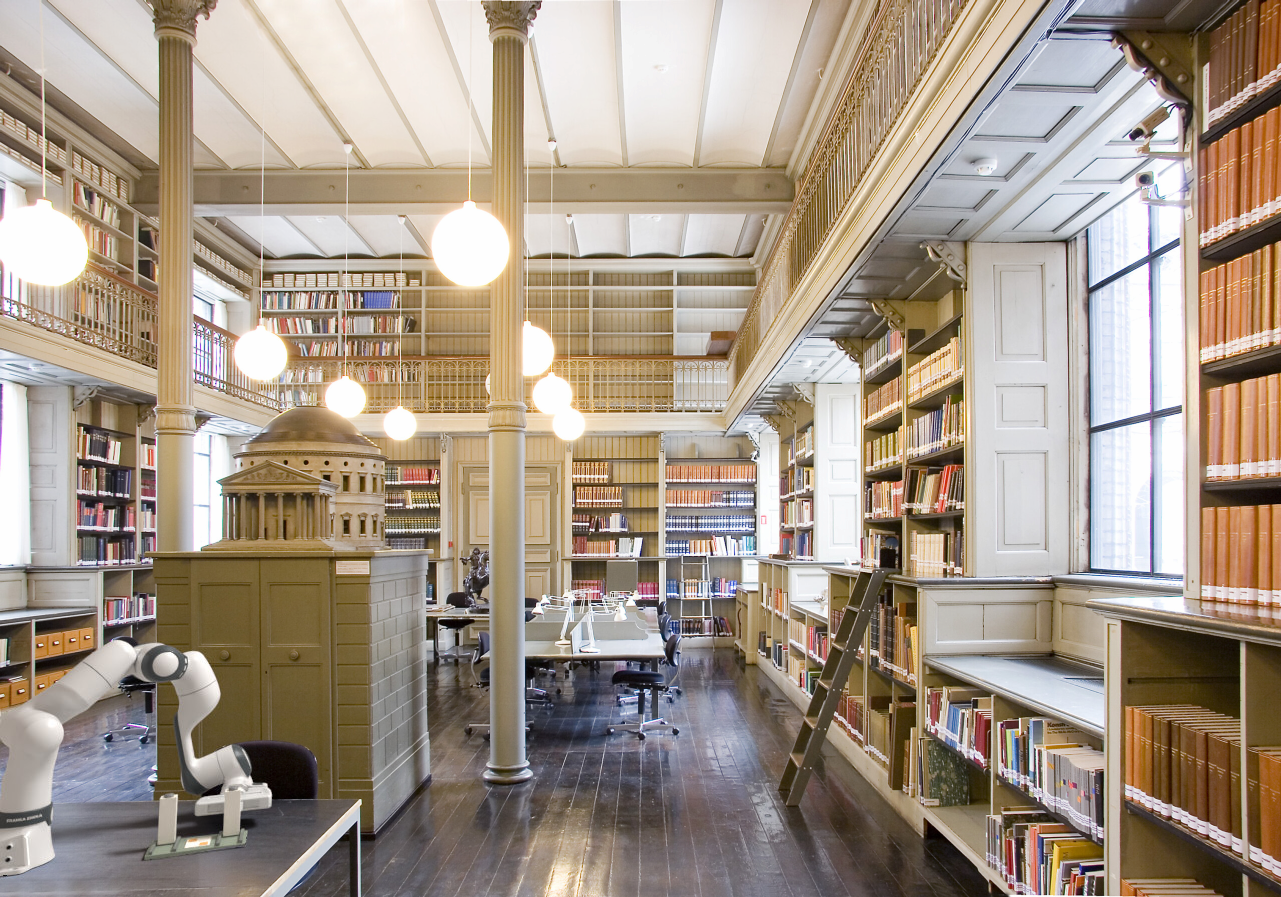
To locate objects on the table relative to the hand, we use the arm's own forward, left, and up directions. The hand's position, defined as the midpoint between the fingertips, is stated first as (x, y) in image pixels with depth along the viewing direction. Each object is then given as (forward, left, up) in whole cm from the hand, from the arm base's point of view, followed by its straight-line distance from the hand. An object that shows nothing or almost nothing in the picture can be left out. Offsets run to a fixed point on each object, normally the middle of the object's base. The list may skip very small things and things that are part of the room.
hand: (232, 811), depth 238 cm
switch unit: (-9, -4, -7) cm, 12 cm away
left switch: (-16, +1, -6) cm, 17 cm away
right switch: (0, -2, -6) cm, 6 cm away
